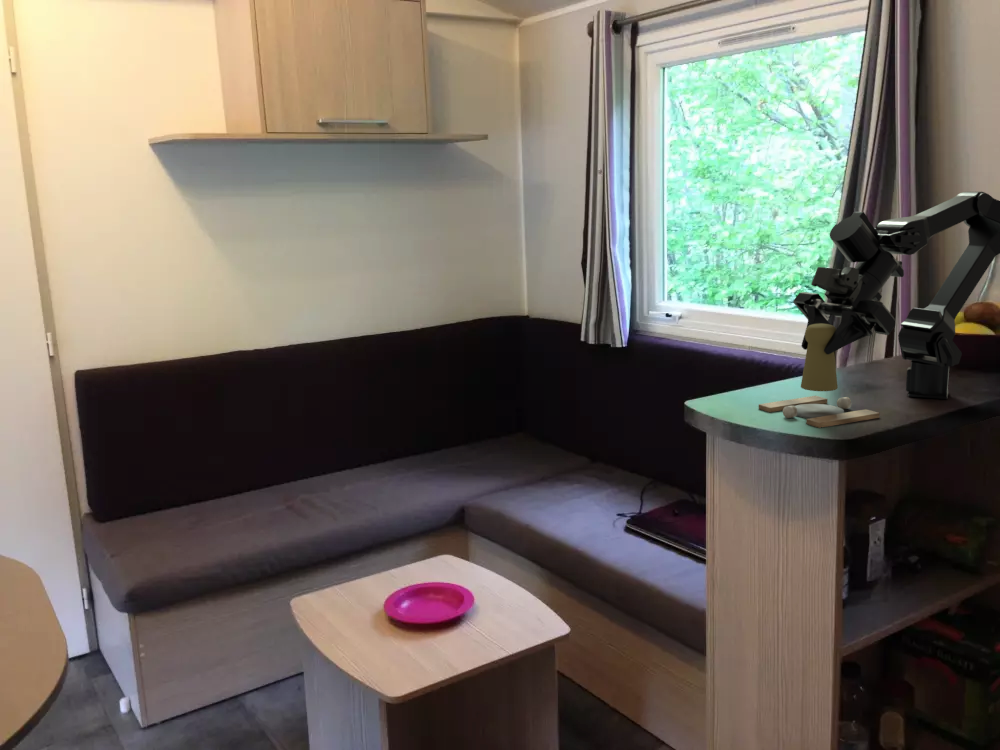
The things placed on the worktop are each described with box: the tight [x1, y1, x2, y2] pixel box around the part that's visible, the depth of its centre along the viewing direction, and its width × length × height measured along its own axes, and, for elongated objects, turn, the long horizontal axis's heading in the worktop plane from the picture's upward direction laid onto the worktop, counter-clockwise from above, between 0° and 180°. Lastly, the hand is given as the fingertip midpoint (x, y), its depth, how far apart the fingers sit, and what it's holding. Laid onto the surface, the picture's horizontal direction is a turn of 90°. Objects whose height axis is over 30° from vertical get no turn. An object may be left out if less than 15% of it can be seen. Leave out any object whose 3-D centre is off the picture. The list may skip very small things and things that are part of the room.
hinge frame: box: [758, 395, 880, 429], centre depth 156 cm, size 13×15×2 cm
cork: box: [800, 323, 839, 392], centre depth 154 cm, size 6×6×11 cm
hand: (814, 350), depth 154 cm, fingers closed on cork, 5 cm apart
